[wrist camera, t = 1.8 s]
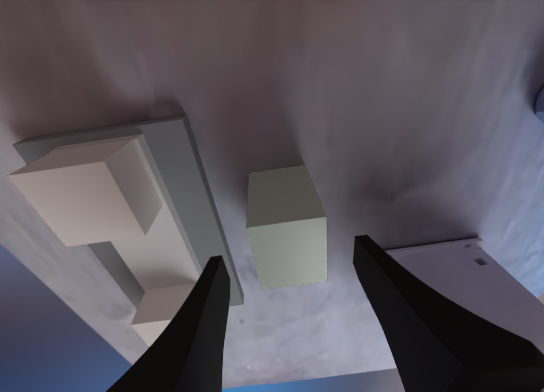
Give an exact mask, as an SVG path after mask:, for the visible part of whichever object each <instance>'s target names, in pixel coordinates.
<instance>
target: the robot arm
mask: <svg viewBox="0 0 544 392" xmlns="http://www.w3.org/2000/svg"><path fill="white" fill-rule="evenodd" d="M483 245H484V241H483V240H482V239H481V238H473V239H466V240H459V241H451V242H444V243H437V244H429V245H422V246H415V247H407V248H400V249H393V250H385V251H384V250H383V249H382V248H381V247H380V246H379V245H378V244H376V243H375V242H374V241H373V240H372V239H371V238H370V237H369V236H368V235H361V236H355V244H354V256H353V264H354V267H355V270H356V273H357V276H358V278H359V281H360V283H361V285H362V287H363V289H364V291H365V293H366V295H367V297H368V299H369V302H370V304H371V306H372V308H373V310H374V312H375V314H376V316H377V318H378V320H379V322H380V324H381V326H382V329H383V331H384V334H385V336H386V339H387V342H388V344H389V347H390V350H391V352H392V355H393V358H394V360H395V363H396V366H397V369H398V372H399V374H400V377H401V380H402V383H403V386H404V389H405V392H544V305H543V304H542V303H541V302H540V301H539V300H538V299H537V298H536V297H535V296H534V295H533V294H532V293H530V292H529V291H528V290H527V289H526V288H525V287H524V286H523V285H522V284H520V283H519V282H518V281H517V280H516V279H515V278H514V277H513V276H512V275H510V274H509V273H508V272H507V271H506V270H505V269H504V268H503V267H502V266H501V265H499V264H498V263H497V262H496V261H495V260H494V259H493V258H492V257H491V256H489V255H488V254H487V253H486V252H485V251H484V250H483V249H482V247H483ZM229 303H230V277H229V274H228V271H227V268H226V265H225V262H224V260H223V257H222V255H219V256H212V257H210V258H209V260H208V262H207V264H206V266H205V268H204V269H203V271H202V273H201V275H200V277H199V279H198V280H197V282H196V284H195V285H194V287H193V289H192V290H191V292H190V294H189V295H188V297H187V298H186V300H185V301H184V303H183V304H182V306H181V307H180V309H179V310H178V312H177V313H176V315H175V316H174V317H173V319H172V320H171V321H170V323H169V324H168V325H167V327H166V328H165V329H164V330H163V332H162V333H161V334H160V335H159V337H158V338H157V339H156V340H155V341H154V343H153V344H152V345H151V346H150V347H149V348H148V349H147V351H146V352H145V353H144V354H143V355H142V356H141V357H140V358H139V359H138V360H137V361H136V362H135V363H134V364H133V366H132V367H131V368H130V369H129V370H128V371H127V372H126V373H125V374H124V375H123V376H122V377H121V378H120V379H119V380H118V381H117V382H116V383H114V384H113V385H112V386H111V387H110V388H109V389H108V390H107V391H106V392H222V367H223V348H224V339H225V332H226V325H227V318H228V310H229Z"/></svg>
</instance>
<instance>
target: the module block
mask: <svg viewBox="0 0 544 392" xmlns="http://www.w3.org/2000/svg"><path fill="white" fill-rule="evenodd" d="M246 229H247V233H248V237H249V241H250V245H251V249H252V253H253V257H254V261H255V266H256V270H257V274H258V278H259V282H260V286H261V290H267V289H274V288H282V287H289V286H297V285H304V284H311V283H319V282H326V281H327V224H326V214H325V212H324V210H323V207H322V205H321V202H320V200H319V197H318V195H317V193H316V190H315V188H314V185H313V183H312V180H311V178H310V175H309V173H308V171H307V168H306V166H305V165H300V166H293V167H286V168H279V169H273V170H266V171H259V172H252V173H249V182H248V202H247V222H246Z"/></svg>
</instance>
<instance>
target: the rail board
mask: <svg viewBox="0 0 544 392" xmlns="http://www.w3.org/2000/svg"><path fill="white" fill-rule="evenodd" d="M12 145H13V146H14V147H15V149H16V150H17V151H18V153H19V154H20V155H21V157H22V158H23V159H24V161H25V162H26V163H27V165H26V166H25V167H23V168H21V169H19V170H17V171H15V172H13V173H11V174H9V175H8V178H9V179H10V180H11V181H12V182H13V184H14V185H15V186H16V187H17V188H18V190H19V191H20V192H21V193H22V194H23V196H24V197H25V198H26V199H27V200H28V202H29V203H30V204H31V205H32V206H33V208H34V209H35V210H36V211H37V212H38V214H39V215H40V216H41V217H42V219H43V220H44V221H45V222H46V223H47V225H48V226H49V227H50V228H51V229H52V231H53V232H54V233H55V234H56V235H57V237H58V238H59V239H60V240H61V241H62V243H63V244H64V245H65V246H66V247H70V246H77V245H84V244H88V245H89V247H90V248H91V249H92V251H93V252H94V253H95V255H96V256H97V257H98V259H99V260H100V261H101V263H102V264H103V265H104V267H105V268H106V269H107V271H108V272H109V273H110V274H111V276H112V277H113V278H114V280H115V281H116V282H117V284H118V285H119V286H120V288H121V289H122V290H123V292H124V293H125V294H126V296H127V297H128V298H129V300H130V301H131V302H132V304H133V305H134V306H135V308H136V309H137V312H136V314H135V317H134V319H133V321H132V323H131V326H132V327H133V328H134V329H135V331H136V332H137V333H138V334H139V335H140V337H141V338H142V339H143V340H144V341H145V343H146V344H147V345H148V346H149V347H150V346H151V345H152V344H153V343H154V341H155V340H156V339H157V338H158V337H159V335H160V334H161V333H162V332H163V330H164V329H165V328H166V327H167V325H168V324H169V323H170V321H171V320H172V319H173V317H174V316H175V315H176V313H177V312H178V310H179V309H180V307H181V306H182V304H183V303H184V301H185V300H186V298H187V297H188V295H189V294H190V292H191V290H192V289H193V287H194V285H195V284H196V282H197V280H198V279H199V277H200V275H201V273H202V271H203V269H204V268H205V266H206V264H207V262H208V260H209V258H210V257H212V256H219V255H222V257H223V260H224V262H225V265H226V268H227V271H228V274H229V277H230V303H229V306H235V305H242V304H243V302H244V294H243V291H242V288H241V285H240V282H239V279H238V275H237V272H236V269H235V266H234V263H233V260H232V256H231V253H230V250H229V247H228V244H227V241H226V238H225V234H224V231H223V228H222V225H221V222H220V219H219V216H218V212H217V209H216V206H215V203H214V200H213V197H212V193H211V190H210V187H209V184H208V181H207V178H206V175H205V171H204V168H203V165H202V162H201V159H200V156H199V152H198V149H197V146H196V143H195V140H194V137H193V134H192V130H191V127H190V124H189V121H188V118H187V115H181V116H174V117H167V118H161V119H154V120H147V121H141V122H134V123H127V124H121V125H114V126H107V127H101V128H94V129H87V130H81V131H74V132H67V133H61V134H54V135H48V136H41V137H34V138H28V139H24V140H22V141H19V142H17V143H15V144H12Z"/></svg>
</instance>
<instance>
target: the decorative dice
mask: <svg viewBox="0 0 544 392" xmlns="http://www.w3.org/2000/svg"><path fill="white" fill-rule="evenodd" d="M535 112H536V116H537V117H538V118H539V119H540V120H541V121H543V122H544V86H543V88H542V90H541V91H540V93H539V95H538V98H537V101H536V106H535Z"/></svg>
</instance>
